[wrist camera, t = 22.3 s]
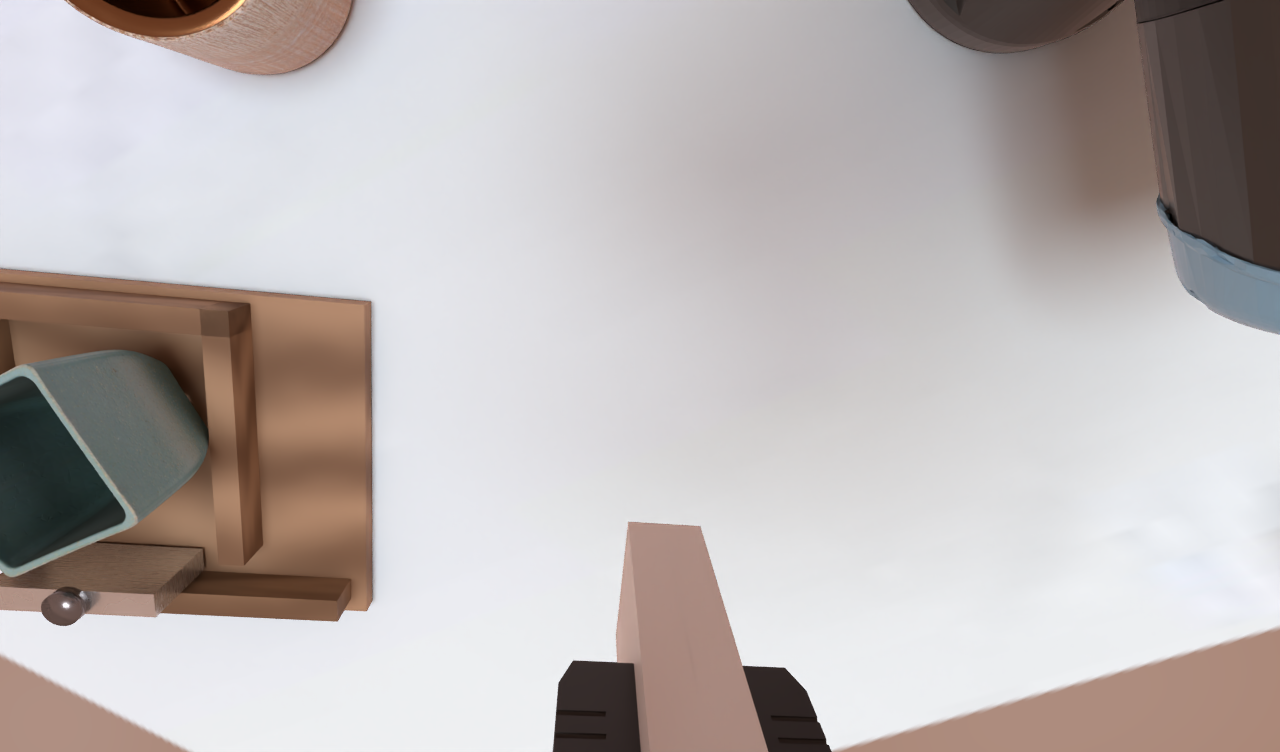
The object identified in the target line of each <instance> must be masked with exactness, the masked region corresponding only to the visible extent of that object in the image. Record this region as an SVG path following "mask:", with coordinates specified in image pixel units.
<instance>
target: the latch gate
mask: <svg viewBox="0 0 1280 752" xmlns="http://www.w3.org/2000/svg"><path fill="white" fill-rule="evenodd" d="M203 570H204V560H203V549H196V548H178V547H161V546H143V545H125V544H107V543H92V544H90V545H87V546H85V547H82V548H80V549H78V550H76V551H73V552H71V553H68V554H66V555H64V556H62V557H59V558H57V559H55V560H52V561H50V562H48V563H46V564H44V565H41V566H39V567H37V568H35V569H32V570H30V571H28V572H26V573H24V574H21V575H19V576H16V577H9V576H7V575H5V574H4V573H3V574H1V575H0V610H15V611H36V612H42V614H43V615H44V617H45V618H46V619H47V620H48V621H50V622H51V623H53V624H56V625H60V626H68V625H71V624H73V623H75V622H76V621H77V620H78V619H80V618H81V617H82V616H83V615H84V614H99V615H121V616H142V617H157V616H158V615H159V614H160V613H161V612H162V611H163V610H164V609H165V608H166V607H167V606H168V605H169V604H170V603H171V602H172V601H173V600H174V599H175V598H176V597H177V596H178V595H179V594H180V593H181V592H182V591H183V590H184V589H185V588H186V587H187V586H188V585H189V584H190V583H191V582H192V581H193V580H194V579H195V578H196V577H197V576H198V575H199V574H200V573H201V572H202V571H203Z"/></svg>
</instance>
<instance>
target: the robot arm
mask: <svg viewBox="0 0 1280 752" xmlns="http://www.w3.org/2000/svg"><path fill="white" fill-rule="evenodd" d="M909 1H910V3H911V4H912V6H913V7H914V8H915V10H916V11H917V12H918V13H919V15H920V16H921V17H922V18H923V19H924V20H925V21H926V22H927V23H928V24H929V25H930V26H931V27H932V28H934V29H935V30H936V31H937V32H939V33H940V34H942V35H943V36H945V37H946V38H948V39H950V40H951V41H953V42H955V43H958V44H960V45H962V46H965V47H968V48H971V49H975V50H978V51H984V52H992V53H1011V52H1019V51H1025V50H1029V49H1033V48H1037V47H1040V46H1043V45H1046V44H1050V43H1053V42H1056V41H1059V40H1062V39H1065V38H1067V37H1070V36H1072V35H1074V34H1076V33H1078V32H1080V31H1082V30H1084V29H1086V28H1088V27H1089V26H1091V25H1093V24H1094V23H1096V22H1098V21H1099V20H1100V19H1102V18H1103V17H1105V16H1106V15H1107V14H1109V13H1110V12H1111V11H1112V10H1114V9H1115V8H1116V7H1117V6H1118V5H1119V4H1121V3H1122V2H1123V1H1124V0H909ZM1134 2H1135V9H1136V16H1137V26H1138V34H1139V41H1140V49H1141V56H1142V64H1143V71H1144V79H1145V87H1146V94H1147V102H1148V109H1149V117H1150V124H1151V132H1152V140H1153V147H1154V155H1155V162H1156V170H1157V178H1158V185H1159V196H1158V198H1157V201H1156V204H1157V211H1158V215H1159V217H1160V219H1161V221H1162V223H1163V224H1164V225H1165V227H1166V228H1167V230H1168V235H1169V240H1170V245H1171V250H1172V255H1173V259H1174V264H1175V269H1176V272H1177V275H1178V277H1179V280H1180V281H1181V283H1182V285H1183V286H1184V288H1185V289H1186V290H1187V292H1188V293H1189V294H1191V295H1192V296H1193V297H1195V298H1196V299H1198V300H1199V301H1201V302H1202V303H1204V304H1205V305H1206V306H1207V307H1208V308H1209V309H1210V310H1212V311H1213V312H1215V313H1217V314H1219V315H1221V316H1223V317H1225V318H1228V319H1230V320H1232V321H1235V322H1237V323H1240V324H1243V325H1246V326H1249V327H1252V328H1256V329H1259V330H1263V331H1267V332H1271V333H1275V334H1280V0H1134ZM616 648H617V662H594V661H573V662H572V663H571V665H570V666H569V668H568V669H567V671H566V672H565V674H564V675H563V677H562V678H561V680H560V681H559V684H558V696H557V708H556V720H555V732H554V744H553V752H831V750H830V747H829V745H827V744H826V737H825V735H824V733H823V730H822V728H821V725H820V723H819V722H817V716H816V713H815V711H814V708H813V706H812V704H811V701H810V699H809V696H808V694H807V691H806V690H805V689H804V688H803V687H802V686H801V685H800V684H799V682H798V681H797V680H796V679H795V678H794V677H793V676H792V675H791V674H790V673H789V672H788V671H787V670H786V668H777V667H755V666H742V663H741V660H740V656H739V653H738V650H737V646H736V643H735V640H734V636H733V633H732V630H731V627H730V623H729V620H728V617H727V613H726V610H725V607H724V603H723V600H722V597H721V593H720V590H719V587H718V584H717V580H716V577H715V574H714V570H713V567H712V564H711V560H710V557H709V554H708V550H707V547H706V544H705V541H704V537H703V534H702V531H701V527H700V526H688V525H672V524H656V523H640V522H628V529H627V538H626V548H625V557H624V566H623V575H622V584H621V594H620V603H619V612H618V621H617V630H616Z"/></svg>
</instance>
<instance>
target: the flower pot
mask: <svg viewBox="0 0 1280 752" xmlns="http://www.w3.org/2000/svg"><path fill="white" fill-rule="evenodd" d="M208 443H209V431H208V428H207V426H206V425H205V423H204V422H203V420H202V419H201V417H200V416H199V414H198V413H197V411H196V410H195V408H194V407H193V405H192V404H191V402H190V401H189V399H188V398H187V396H186V395H185V393H184V392H183V390H182V389H181V387H180V385H179V384H178V382H177V381H176V379H175V378H174V376H173V374H172V373H171V371H170V370H169V368H168V367H167V366H166V365H165V364H164V363H163V362H161V361H159V360H157V359H155V358H153V357H150V356H148V355H145V354H142V353H138V352H134V351H128V350H103V351H95V352H89V353H83V354H77V355H72V356H66V357H61V358H55V359H50V360H44V361H39V362H34V363H28V364H22V365H19V366H17V367H14V368H12V369H10V370H9V371H7V372H5V373H3V374H1V375H0V570H1V571H2V572H3V573H4V574H5V575H7V576H9V577H16V576H19V575H21V574H24V573H26V572H28V571H30V570H32V569H35V568H37V567H39V566H41V565H44V564H46V563H48V562H50V561H52V560H55V559H57V558H59V557H62V556H64V555H66V554H68V553H71V552H73V551H76V550H78V549H80V548H82V547H85V546H87V545H90V544H92V543H95V542H97V541H99V540H102V539H104V538H106V537H109V536H111V535H114V534H116V533H120V532H122V531H125V530H127V529H130V528H131V527H133V526H135V525H136V524H138V523H139V522H140V521H141V520H143V519H144V518H145V517H146V516H148V515H149V514H150V513H151V512H152V511H154V510H155V509H156V508H157V507H159V506H160V505H161V504H162V503H163V502H164V501H166V500H167V499H168V498H169V497H170V496H172V495H173V494H174V493H175V492H176V491H177V490H179V489H180V488H181V487H182V486H183V485H184V484H185V483H186V482H188V481H189V480H190V479H191V478H192V477H193V476H194V474H195V473H196V472H197V471H198V469H199V468H200V466H201V464H202V463H203V461H204V458H205V456H206V453H207V449H208Z"/></svg>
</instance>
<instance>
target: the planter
mask: <svg viewBox="0 0 1280 752" xmlns="http://www.w3.org/2000/svg"><path fill="white" fill-rule="evenodd" d="M65 1H66V2H67V3H68V4H70V5H71V6H72V7H73V8H75V9H76V10H78V11H79V12H80V13H82V14H83V15H85V16H87V17H88V18H90V19H92V20H93V21H95V22H97V23H99V24H101V25H103V26H105V27H107V28H109V29H112V30H114V31H116V32H119V33H122V34H124V35H127V36H130V37H133V38H137V39H140V40H143V41H146V42H149V43H152V44H155V45H158V46H161V47H164V48H167V49H170V50H173V51H176V52H179V53H182V54H185V55H188V56H191V57H194V58H197V59H199V60H202V61H205V62H208V63H211V64H214V65H217V66H220V67H223V68H226V69H229V70H233V71H236V72H241V73H247V74H261V75H265V74H279V73H285V72H289V71H292V70H295V69H298V68H300V67H303V66H305V65H307V64H309V63H310V62H312V61H313V60H315V59H316V58H318V57H319V56H320V55H321V54H323V53H324V52H325V51H326V50H327V49H328V48H329V47H330V46H331V45H332V43H333V42H334V41H335V39H336V38H337V37H338V35H339V33H340V32H341V30H342V28H343V26H344V24H345V22H346V19H347V17H348V14H349V11H350V7H351V3H352V0H65Z"/></svg>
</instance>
